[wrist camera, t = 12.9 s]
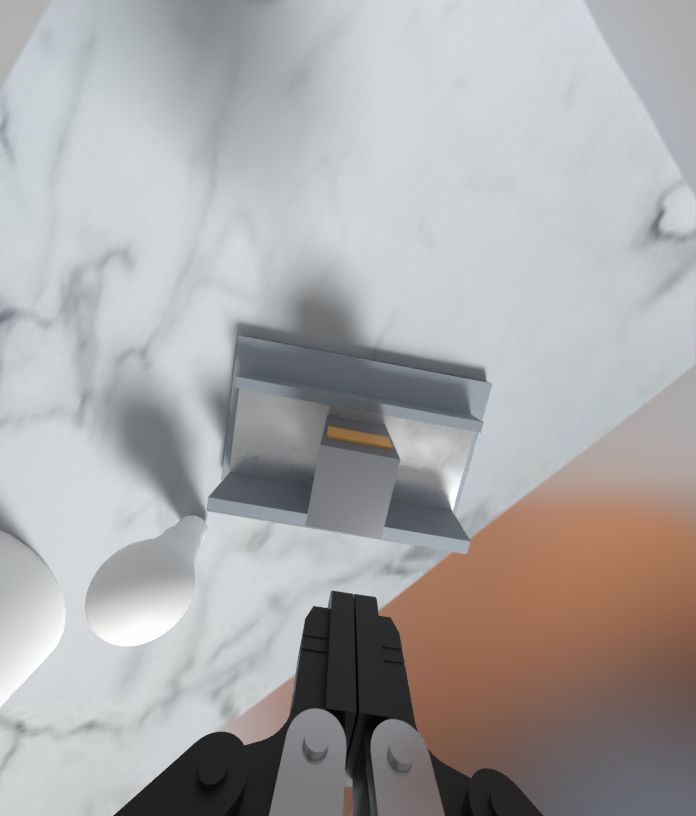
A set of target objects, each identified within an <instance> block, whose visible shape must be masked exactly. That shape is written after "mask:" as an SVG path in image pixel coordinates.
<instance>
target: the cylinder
mask: <svg viewBox="0 0 696 816" xmlns="http://www.w3.org/2000/svg"><path fill="white" fill-rule="evenodd" d="M65 614H66V607H65V603H64V599H63V595H62V592H61V588H60V586H59V584H58V582H57V581H56V579H55V577H54V576H53V574H52V572H51V570H50V569H49V567H48V566H47V565H46V564H45V563H44V562H43V561H42V560H41V559H40V558H39V556H38V555H37V554H36V553H35V552H34V551H33V550H32V549H31V548H29V547H28V546H26V545H25V544H23V543H22V542H20V541H19V540H18V539H16V538H15V537H13V536H12V535H10V534H8V533H6V532H4V531H1V530H0V707H1V706H2V705H3V704H4V703H5V702H6V700H7V699H8V698H9V697H10V696H11V695H12V694H13V693H14V692H15V691H16V690H17V689H18V688H19V687H20V685H21V684H22V683H23V682H24V681H25V680H26V679H27V678H28V677H29V676H30V675H31V674H32V673H33V672H34V670H35V669H36V668H37V667H38V666H39V665H40V664H41V663H42V662H43V661H44V660H45V659H46V658H47V656H48V655H49V654H50V653H51V652H52V651H53V650H54V648H55V647H56V646H57V645H58V643H59V640H60V638H61V636H62V633H63V631H64V628H65Z"/></svg>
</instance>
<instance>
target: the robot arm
mask: <svg viewBox="0 0 696 816" xmlns="http://www.w3.org/2000/svg"><path fill="white" fill-rule="evenodd" d="M344 786H348V787H353V812H352V816H543V815H542V814H541V813H540V811H539V810H538V809H537V808H536V807H535V806H534V805H533V804H532V802H531V801H530V800H529V799H528V798H527V797H526V796H525V795H524V793H523V792H522V791H521V790H520V789H519V788H518V787H517V785H515V783H514V782H513V781H511V780H510V779H509V778H508V777H506V776H505V775H503V774H502V773H500V772H498V771H496V770H493V769H486V768H485V769H480V770H479V771H477V772H476V773H475V774H474V775H473V776H472V778H469V777H468V776H466V775H464V774H462V773H460V772H458V771H457V770H455V769H453V768H451V767H449V766H447V765H446V764H444V763H443V762H441V761H439V760H438V759H437V758H436V757H435V756H434V755H433V754H432V753H431V752H430V751H429V750H428V748H427V746H426V744H425V742H424V740H423V739H422V737H421V736H420V735H419V733H418V731H417V728H416V724H415V721H414V715H413V709H412V703H411V697H410V692H409V686H408V680H407V675H406V669H405V666H404V659H403V653H402V646H401V640H400V635H399V632H398V630H397V628H396V626H395V625H394V623H393V621H392V620H391V618H390V617H383V616H378V607H377V599H376V597H371V596H364V595H358V594H354V596H353V594H350V593H344V592H337V591H331V594H330V599H329V604H328V608H323V607H316V606H313V608H312V609H311V611H310V612H309V614H308V615H307V617H306V618H305V623H304V629H303V634H302V639H301V645H300V650H299V656H298V662H297V669H296V676H295V682H294V689H293V696H292V702H291V709H290V716H289V718H288V720H287V722H286V723H285V724H284V726H283V727H282V728H281V729H280V730H279V731H278V732H277V733H276V734H274V735H273V736H271V737H269V738H267V739H265V740H262V741H259V742H255V743H251V744H248V745H243V743H242V741H241V740H240V739H239V738H238V737H236V736H235V735H233V734H231V733H227V732H215V733H211V734H208V735H206V736H204V737H203V738H201V739H200V740H198V741H197V742H196V743H195V744H193V745H192V746H191V747H190V748H189V749H188V750H187V751H186V752H184V753H183V754H182V755H181V756H180V757H179V758H178V759H177V760H175V761H174V762H173V763H172V764H171V765H170V766H169V767H168V768H166V769H165V770H164V771H163V772H162V773H161V774H160V775H159V776H157V777H156V778H155V779H154V780H153V781H152V782H151V783H150V784H148V785H147V786H146V787H145V788H144V789H143V790H142V791H141V792H140V793H138V794H137V795H136V796H135V797H134V798H133V799H132V800H131V801H129V802H128V803H127V804H126V805H125V806H124V807H123V808H122V809H120V810H119V811H118V812H117V813H116V814H115V815H114V816H342V812H343V795H344Z"/></svg>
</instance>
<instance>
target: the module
mask: <svg viewBox="0 0 696 816" xmlns="http://www.w3.org/2000/svg"><path fill="white" fill-rule="evenodd" d="M399 463H400V458H399V455H398V453H397V451H396V448H395V446H394V444H393V441H392V439H391V437H390V435H389V432H388V430H387V428H386V426H383V425H377V424H372V423H367V422H361V421H356V420H351V419H345V418H340V417H335V416H329V415H327V419H326V423H325V427H324V431H323V436H322V440H321V444H320V449H319V454H318V460H317V465H316V470H315V476H314V481H313V487H312V492H311V497H310V503H309V508H308V513H307V519H306V524H305V526H309V527H315V528H321V529H327V530H332V531H338V532H344V533H350V534H356V535H361V536H367V537H373V538H379V539H381V538H382V534H383V530H384V525H385V521H386V517H387V513H388V509H389V505H390V501H391V496H392V492H393V488H394V484H395V480H396V476H397V471H398V467H399Z"/></svg>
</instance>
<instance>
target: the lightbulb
mask: <svg viewBox="0 0 696 816" xmlns="http://www.w3.org/2000/svg"><path fill="white" fill-rule="evenodd" d="M206 534H207V525H206V523H205V521H204V520H203V519H202V518H200V517H198V516H195V515H189V516H185V517H184V518H182V519H181V520H180V521H179V522H178V523H177V524H176V525H175V526H173V527H170V528H169V529H167V530H166V531H165V532H164V533H163V534H162V535H160V536H159V537H157V538H154V539H148V540H144V541H140V542H136V543H133V544H130V545H128V546H126V547H124V548H123V549H121V550H119V551H118V552H116V553H114V554H113V555H112V556H111V557H110V558H109V559H108V560H106V561H105V562H104V563H103V564H102V565H101V567H100V568H99V570H98V571H97V572H96V574H95V576H94V577H93V579H92V581H91V583H90V585H89V588H88V591H87V595H86V603H85V610H86V617H87V621H88V623H89V626H90V627H91V629H92V630H93V631H94V632H95V634H96V635H97V636H99V637H100V638H101V639H103V640H104V641H106V642H108V643H111V644H114V645H118V646H135V645H140V644H144V643H147V642H149V641H152V640H154V639H156V638H158V637H160V636H161V635H163V634H164V633H165V632H167V631H168V630H169V629H170V628H171V627H173V626H174V625H175V624H176V623H177V622H178V621H179V619H180V618H181V617H182V616H183V614H184V613H185V611H186V609H187V608H188V606H189V604H190V601H191V599H192V596H193V592H194V587H195V569H194V561H195V558H196V556H197V554H198V552H199V550H200V547H201V543H202V541H203V540H204V537H205V536H206Z"/></svg>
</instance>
